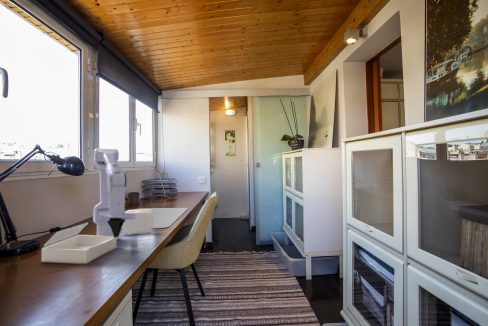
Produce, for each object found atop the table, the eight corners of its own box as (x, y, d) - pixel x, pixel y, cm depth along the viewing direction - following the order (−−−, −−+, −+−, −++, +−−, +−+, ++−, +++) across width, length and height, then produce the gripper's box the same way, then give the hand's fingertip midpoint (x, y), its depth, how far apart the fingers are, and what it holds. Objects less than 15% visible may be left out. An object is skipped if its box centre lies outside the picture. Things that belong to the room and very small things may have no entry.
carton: (78, 246, 110) (78, 234, 110) (116, 247, 108) (116, 236, 108) (41, 261, 92) (41, 248, 92) (86, 263, 90) (86, 250, 90)
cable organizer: (120, 235, 126) (120, 213, 126) (124, 230, 137) (124, 209, 137) (151, 233, 130) (151, 211, 130) (153, 228, 140) (153, 208, 141)
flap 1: (56, 233, 92) (55, 232, 92) (44, 246, 93) (43, 245, 93) (88, 223, 109) (87, 222, 109) (77, 234, 109) (77, 233, 109)
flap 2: (130, 230, 107) (130, 231, 107) (115, 235, 107) (116, 236, 107) (105, 242, 90) (106, 243, 90) (88, 248, 91) (88, 249, 91)
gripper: (93, 204, 96) (92, 239, 95) (128, 205, 94) (127, 240, 94) (105, 201, 103) (104, 234, 102) (138, 202, 101) (137, 235, 101)
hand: (116, 237), depth 99 cm, fingers closed, pressing on flap 2
